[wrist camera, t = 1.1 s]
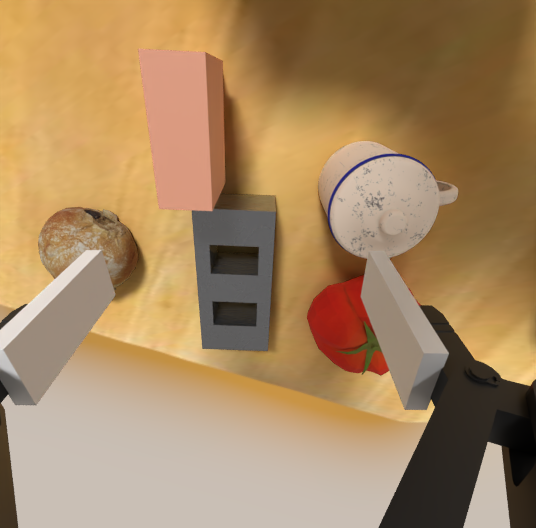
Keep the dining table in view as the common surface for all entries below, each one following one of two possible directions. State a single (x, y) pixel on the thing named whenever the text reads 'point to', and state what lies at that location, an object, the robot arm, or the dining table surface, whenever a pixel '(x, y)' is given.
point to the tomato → (346, 328)
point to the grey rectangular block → (235, 271)
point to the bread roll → (87, 241)
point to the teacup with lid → (380, 199)
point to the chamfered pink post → (185, 126)
